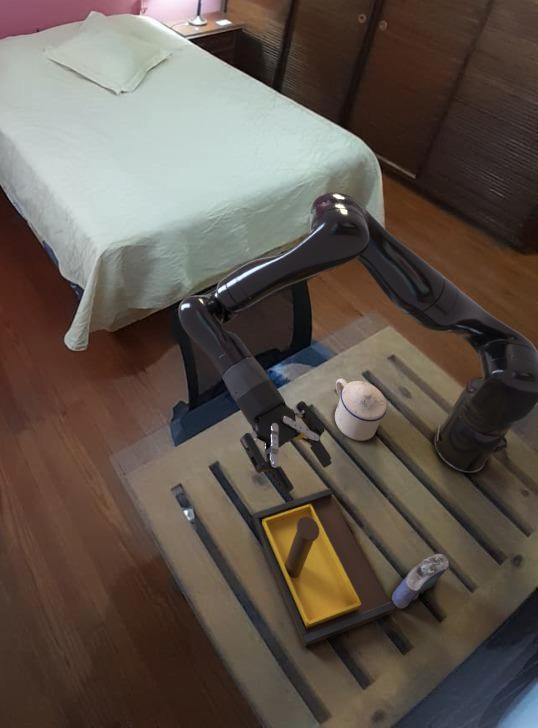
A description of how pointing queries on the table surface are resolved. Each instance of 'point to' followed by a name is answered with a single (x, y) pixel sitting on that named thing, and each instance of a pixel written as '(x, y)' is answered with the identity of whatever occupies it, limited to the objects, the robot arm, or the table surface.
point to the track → (349, 558)
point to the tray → (310, 566)
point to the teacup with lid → (359, 409)
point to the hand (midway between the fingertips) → (309, 478)
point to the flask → (420, 579)
